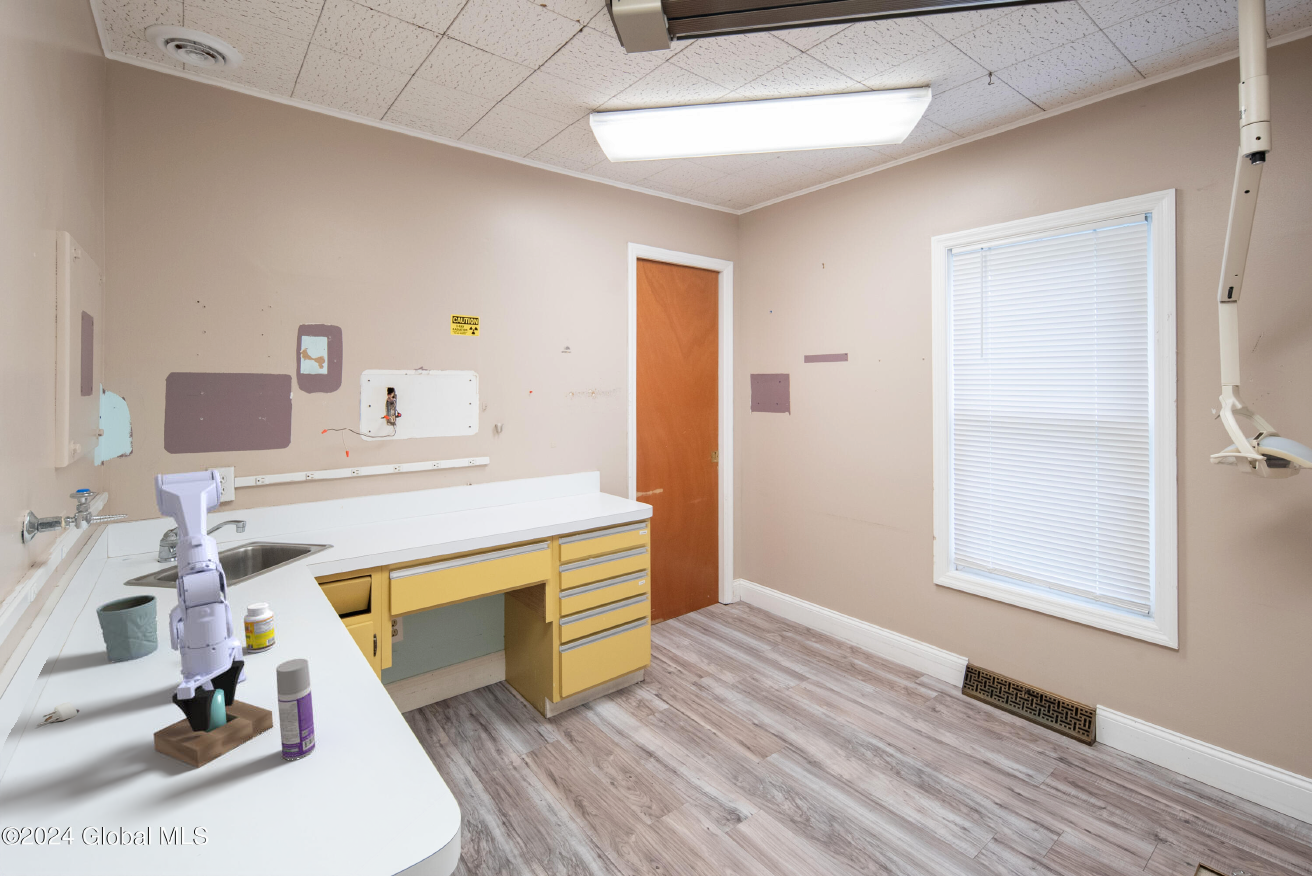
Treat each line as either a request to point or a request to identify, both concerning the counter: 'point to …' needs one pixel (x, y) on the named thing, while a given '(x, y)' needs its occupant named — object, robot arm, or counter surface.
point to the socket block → (213, 735)
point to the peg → (217, 711)
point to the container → (295, 709)
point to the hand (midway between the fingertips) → (214, 717)
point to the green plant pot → (129, 627)
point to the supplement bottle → (259, 628)
